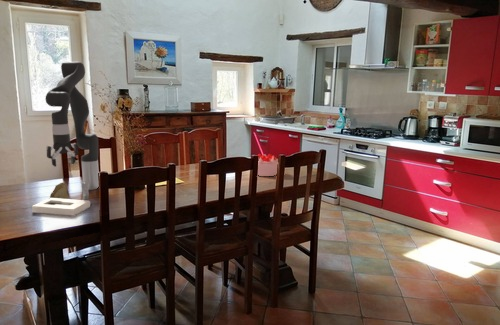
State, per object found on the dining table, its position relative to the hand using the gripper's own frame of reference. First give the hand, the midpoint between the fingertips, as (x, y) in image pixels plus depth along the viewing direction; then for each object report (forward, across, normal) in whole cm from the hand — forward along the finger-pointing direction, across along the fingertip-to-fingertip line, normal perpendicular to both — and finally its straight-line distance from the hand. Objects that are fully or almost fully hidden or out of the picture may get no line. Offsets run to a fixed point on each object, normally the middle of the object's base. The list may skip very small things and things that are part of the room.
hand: (63, 165), depth 190 cm
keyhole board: (+22, +3, +2) cm, 23 cm away
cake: (+24, -134, +11) cm, 136 cm away
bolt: (+23, -9, +2) cm, 24 cm away
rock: (+23, -1, -17) cm, 28 cm away
